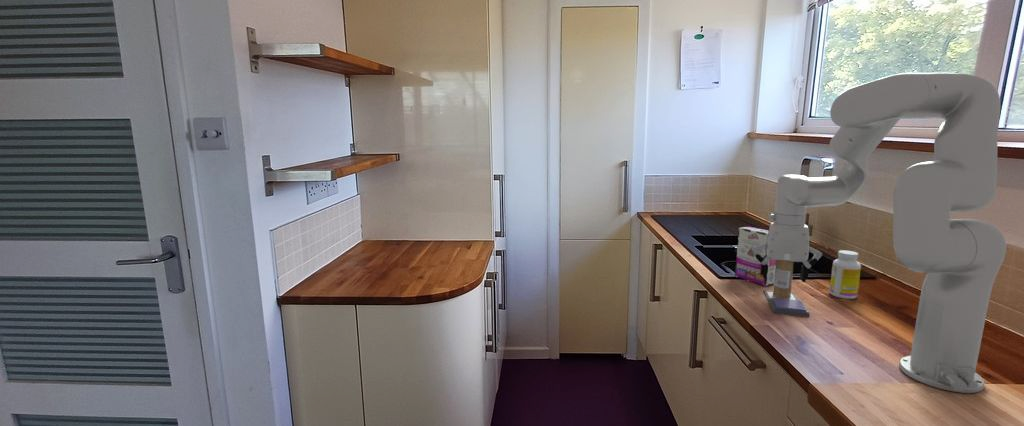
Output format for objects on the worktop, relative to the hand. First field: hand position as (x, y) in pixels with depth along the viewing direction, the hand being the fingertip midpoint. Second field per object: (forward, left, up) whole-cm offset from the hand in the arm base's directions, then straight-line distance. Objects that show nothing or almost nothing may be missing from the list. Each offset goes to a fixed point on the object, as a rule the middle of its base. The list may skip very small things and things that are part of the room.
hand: (783, 278), depth 136 cm
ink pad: (-9, 0, -6) cm, 11 cm away
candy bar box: (+14, +5, -6) cm, 16 cm away
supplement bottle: (+7, -17, -6) cm, 19 cm away
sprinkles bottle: (0, 0, -5) cm, 5 cm away
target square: (0, 0, -6) cm, 6 cm away
